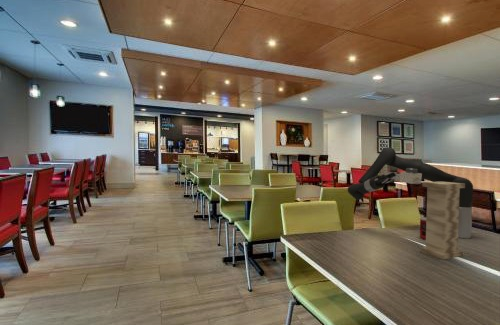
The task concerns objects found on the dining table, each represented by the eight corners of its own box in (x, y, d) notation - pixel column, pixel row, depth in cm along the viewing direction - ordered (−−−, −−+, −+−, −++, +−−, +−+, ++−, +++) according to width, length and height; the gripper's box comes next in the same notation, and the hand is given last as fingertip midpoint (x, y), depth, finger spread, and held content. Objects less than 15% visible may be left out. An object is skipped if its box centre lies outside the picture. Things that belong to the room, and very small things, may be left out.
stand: (440, 248, 133) (442, 181, 132) (462, 255, 123) (465, 183, 122) (420, 252, 127) (422, 182, 126) (442, 259, 118) (444, 184, 117)
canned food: (431, 237, 152) (431, 217, 152) (439, 241, 144) (440, 220, 144) (416, 236, 153) (417, 217, 152) (424, 240, 145) (425, 220, 145)
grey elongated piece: (391, 177, 153) (392, 164, 152) (420, 183, 136) (422, 169, 136) (383, 177, 151) (384, 165, 150) (412, 183, 134) (413, 169, 133)
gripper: (362, 178, 160) (384, 167, 145) (381, 177, 165) (404, 167, 150) (366, 190, 157) (389, 180, 142) (385, 189, 162) (408, 180, 147)
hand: (396, 173), depth 146 cm, fingers closed on grey elongated piece, 3 cm apart
